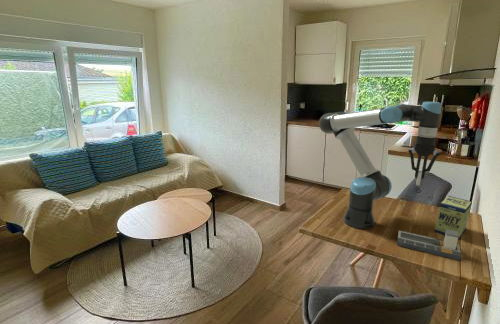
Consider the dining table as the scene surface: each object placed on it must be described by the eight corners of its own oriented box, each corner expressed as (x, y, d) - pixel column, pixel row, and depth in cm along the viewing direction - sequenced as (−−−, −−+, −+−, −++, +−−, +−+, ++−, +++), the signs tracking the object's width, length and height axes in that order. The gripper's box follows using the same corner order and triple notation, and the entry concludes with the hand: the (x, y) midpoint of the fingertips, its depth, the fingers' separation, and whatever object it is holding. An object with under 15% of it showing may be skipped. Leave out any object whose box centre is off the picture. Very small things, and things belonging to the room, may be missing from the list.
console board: (396, 245, 134) (397, 239, 134) (398, 233, 144) (398, 228, 144) (460, 260, 123) (461, 254, 123) (456, 247, 134) (457, 241, 133)
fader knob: (444, 247, 129) (447, 233, 127) (443, 242, 132) (446, 229, 131) (455, 250, 127) (458, 236, 125) (454, 245, 131) (457, 231, 129)
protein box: (434, 232, 147) (439, 203, 143) (442, 222, 157) (448, 195, 153) (458, 240, 140) (465, 210, 135) (466, 229, 150) (472, 200, 146)
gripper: (410, 135, 135) (402, 184, 141) (443, 138, 129) (434, 189, 135) (410, 133, 141) (403, 180, 148) (442, 136, 135) (433, 184, 142)
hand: (417, 184), depth 142 cm, fingers closed
